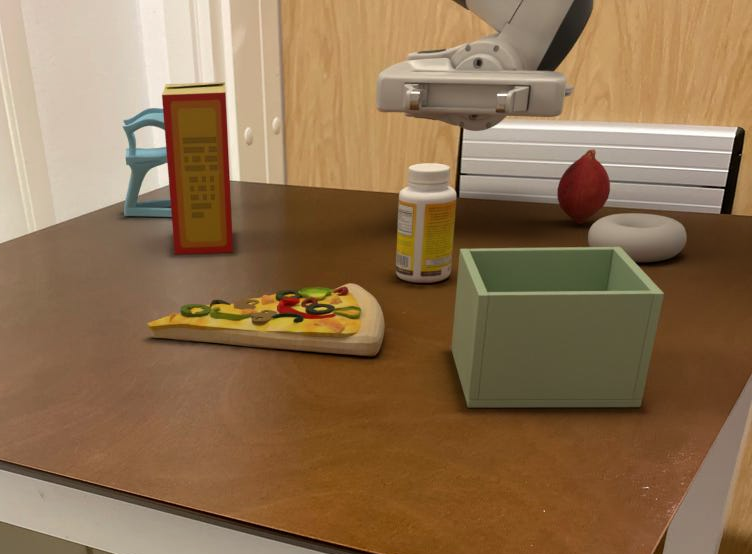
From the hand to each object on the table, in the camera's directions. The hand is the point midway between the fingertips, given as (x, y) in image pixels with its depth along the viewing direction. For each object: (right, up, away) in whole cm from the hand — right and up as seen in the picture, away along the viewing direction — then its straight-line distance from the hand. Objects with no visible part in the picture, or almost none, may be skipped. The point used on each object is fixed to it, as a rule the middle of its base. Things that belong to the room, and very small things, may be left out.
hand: (457, 102), depth 99 cm
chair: (-34, 0, +26) cm, 43 cm away
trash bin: (+2, -35, -24) cm, 42 cm away
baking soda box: (-27, -9, +13) cm, 31 cm away
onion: (+17, -6, +16) cm, 24 cm away
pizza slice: (-20, -28, -14) cm, 37 cm away
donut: (+20, -14, +4) cm, 25 cm away
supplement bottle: (-4, -18, -1) cm, 19 cm away
